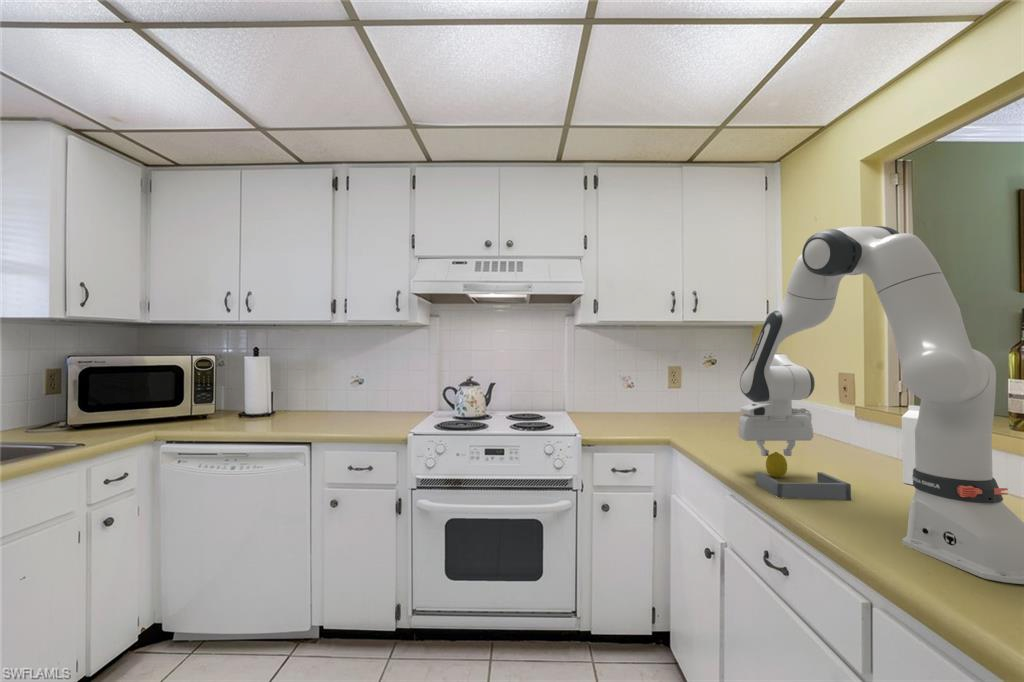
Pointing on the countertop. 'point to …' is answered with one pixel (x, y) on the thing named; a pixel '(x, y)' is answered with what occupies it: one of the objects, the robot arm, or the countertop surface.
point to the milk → (909, 442)
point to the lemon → (776, 465)
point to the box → (807, 488)
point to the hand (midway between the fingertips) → (776, 455)
